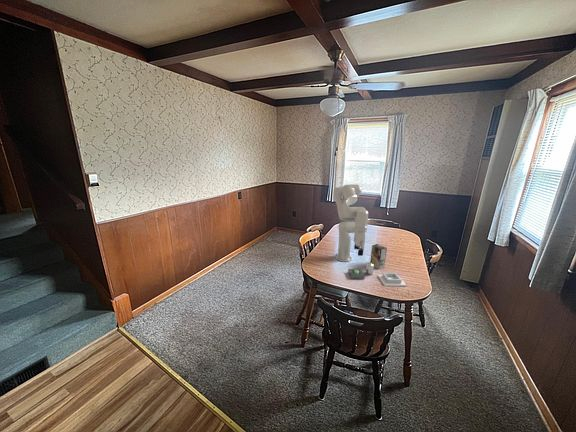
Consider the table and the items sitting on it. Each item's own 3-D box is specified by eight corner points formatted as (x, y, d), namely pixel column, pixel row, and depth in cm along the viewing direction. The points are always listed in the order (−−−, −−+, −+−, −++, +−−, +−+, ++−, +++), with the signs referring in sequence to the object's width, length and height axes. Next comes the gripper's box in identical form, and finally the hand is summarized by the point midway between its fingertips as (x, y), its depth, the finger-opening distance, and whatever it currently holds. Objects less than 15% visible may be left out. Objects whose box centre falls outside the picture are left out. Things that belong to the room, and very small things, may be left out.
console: (348, 272, 163) (348, 268, 163) (360, 272, 163) (361, 269, 162) (351, 279, 155) (351, 275, 154) (364, 279, 155) (364, 275, 154)
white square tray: (377, 276, 159) (378, 271, 158) (397, 276, 159) (398, 271, 158) (384, 286, 147) (384, 281, 146) (405, 286, 147) (406, 281, 146)
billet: (364, 272, 164) (365, 262, 162) (371, 272, 164) (372, 262, 162) (366, 275, 159) (367, 265, 157) (373, 275, 159) (374, 265, 157)
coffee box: (385, 267, 171) (387, 247, 166) (379, 269, 168) (381, 249, 163) (375, 262, 178) (377, 243, 174) (369, 264, 175) (371, 245, 171)
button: (352, 274, 161) (353, 269, 160) (357, 274, 161) (358, 269, 160) (354, 276, 157) (354, 272, 156) (359, 277, 157) (359, 272, 156)
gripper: (351, 224, 157) (349, 246, 162) (358, 233, 141) (356, 258, 145) (362, 224, 157) (360, 247, 162) (370, 233, 140) (367, 258, 145)
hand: (358, 252), depth 154 cm, fingers open, 9 cm apart
